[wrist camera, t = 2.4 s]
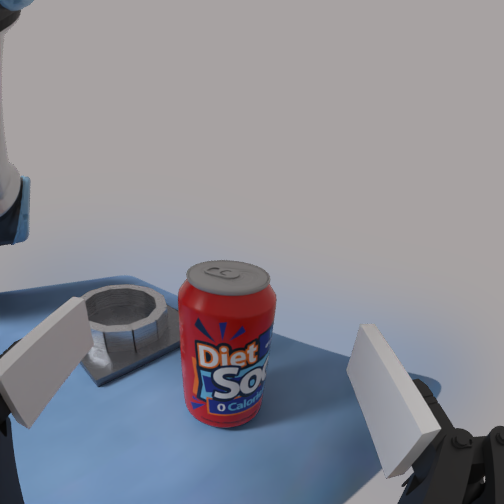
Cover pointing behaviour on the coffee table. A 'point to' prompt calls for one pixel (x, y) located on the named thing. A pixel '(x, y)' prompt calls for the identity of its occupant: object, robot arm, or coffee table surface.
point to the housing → (127, 330)
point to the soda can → (225, 340)
